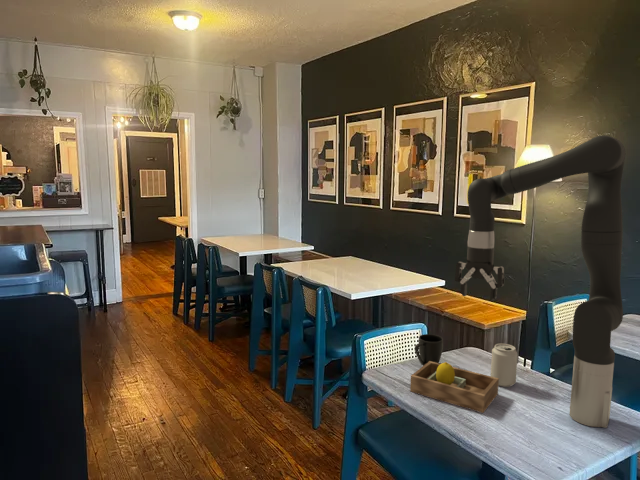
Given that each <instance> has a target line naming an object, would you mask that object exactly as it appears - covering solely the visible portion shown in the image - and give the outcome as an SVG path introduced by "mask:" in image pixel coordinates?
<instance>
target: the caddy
mask: <svg viewBox="0 0 640 480" xmlns="http://www.w3.org/2000/svg"><path fill="white" fill-rule="evenodd" d="M440 364H441V363H440V362H439V363H435V362H431V361H429V362H428V363H426V364H425V365H424V366H423V365H422V366H421V367H420V368H419V369H417V370H416V371H415V372H414V373H412V374H411V375H410V389H409V392H412V393H414V394H418V395H422V396H424V397H429V398H431V399H435V400H438V401H442V402H444V403H445V402H446V403H448V404H452V405H455V406H459V407H462V408H465V409H468V410H471V411H475V412H478V413H481V414H483V413H484V412H485V411H486V410H487V409H488V407H489V406H490V405H491V403H493V402H494V400H495V398H496V397H497V396H498V395H499V385H498V383H499V378H495V377H491V375H487V374H483V373H479V372H475V371H472V370H467V369H463V368H459V367H454V366H452V367H453V369H454V372H455V378H454V381H453V383H452V384H451V385H448V384H444V383H441V382H438V381H437V378H436V371H437V368H438V366H439V365H440Z"/></svg>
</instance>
